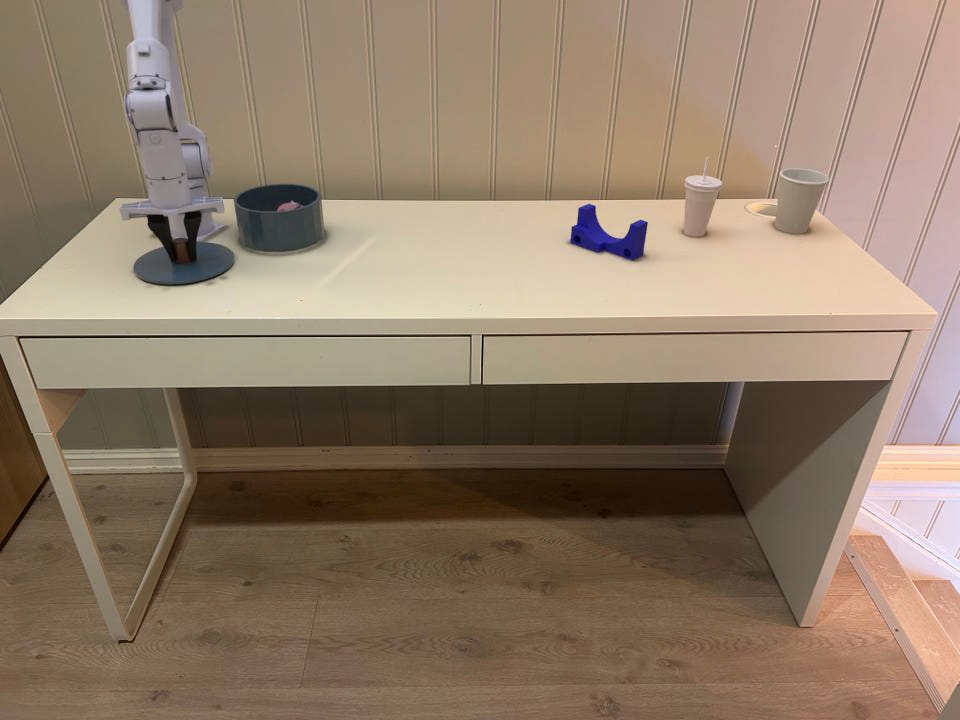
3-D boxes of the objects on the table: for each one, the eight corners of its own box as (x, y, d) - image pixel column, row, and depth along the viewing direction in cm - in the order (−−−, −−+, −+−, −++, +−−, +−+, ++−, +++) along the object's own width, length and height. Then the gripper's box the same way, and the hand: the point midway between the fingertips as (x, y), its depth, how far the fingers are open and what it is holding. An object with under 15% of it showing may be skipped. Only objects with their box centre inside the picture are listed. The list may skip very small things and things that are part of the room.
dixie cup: (815, 239, 132) (830, 185, 126) (766, 232, 134) (779, 178, 129) (814, 223, 138) (828, 171, 133) (767, 216, 141) (780, 165, 135)
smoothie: (673, 236, 131) (686, 158, 124) (679, 224, 137) (692, 149, 129) (709, 241, 129) (725, 163, 122) (714, 229, 135) (729, 153, 127)
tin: (223, 248, 123) (216, 205, 119) (268, 219, 135) (263, 179, 131) (298, 260, 120) (293, 217, 116) (338, 229, 131) (335, 189, 127)
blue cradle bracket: (570, 242, 128) (573, 210, 125) (585, 235, 131) (588, 203, 128) (628, 263, 121) (632, 229, 118) (642, 255, 124) (647, 221, 121)
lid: (113, 279, 112) (105, 252, 109) (175, 242, 124) (170, 217, 122) (197, 294, 108) (191, 266, 106) (253, 255, 120) (249, 229, 118)
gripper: (108, 186, 103) (131, 273, 110) (216, 179, 106) (231, 264, 114) (115, 170, 109) (136, 254, 116) (217, 164, 112) (232, 246, 119)
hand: (183, 258), depth 115 cm, fingers closed on lid, 2 cm apart
